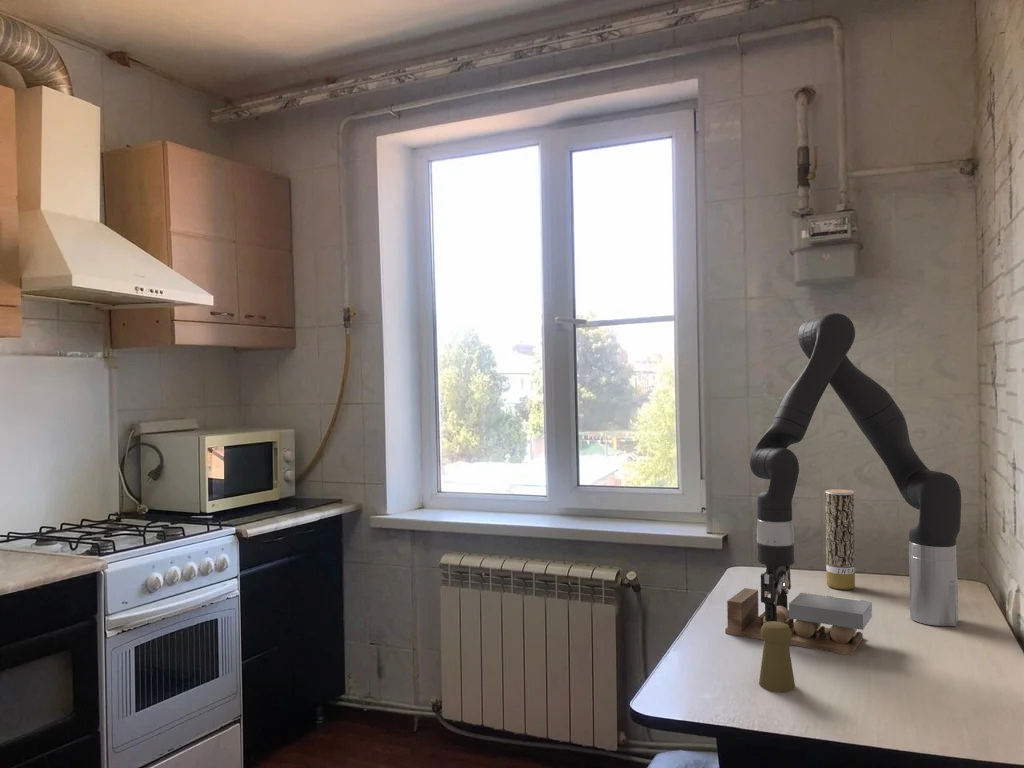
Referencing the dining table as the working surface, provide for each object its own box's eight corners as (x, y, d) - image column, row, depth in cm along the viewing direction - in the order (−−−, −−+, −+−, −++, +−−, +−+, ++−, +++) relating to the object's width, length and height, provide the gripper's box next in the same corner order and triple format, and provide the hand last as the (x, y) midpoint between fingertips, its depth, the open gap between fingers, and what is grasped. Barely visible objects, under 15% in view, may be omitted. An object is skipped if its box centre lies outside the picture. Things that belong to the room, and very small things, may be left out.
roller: (789, 626, 164) (791, 608, 164) (781, 634, 159) (783, 615, 159) (770, 621, 166) (772, 603, 166) (762, 629, 161) (764, 611, 161)
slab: (872, 616, 157) (871, 602, 157) (863, 629, 148) (862, 614, 148) (801, 606, 164) (801, 592, 164) (789, 618, 156) (788, 603, 156)
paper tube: (820, 585, 200) (819, 490, 200) (839, 582, 203) (838, 488, 203) (842, 591, 194) (840, 493, 194) (861, 588, 197) (859, 491, 197)
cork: (766, 676, 138) (765, 615, 138) (800, 684, 135) (799, 622, 135) (753, 686, 134) (752, 624, 134) (788, 695, 130) (787, 630, 130)
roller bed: (864, 638, 158) (863, 604, 158) (853, 655, 148) (852, 619, 148) (743, 618, 173) (742, 587, 173) (725, 633, 163) (725, 600, 163)
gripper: (784, 548, 155) (785, 628, 155) (801, 536, 166) (803, 611, 166) (747, 545, 159) (748, 622, 159) (766, 533, 171) (768, 605, 171)
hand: (776, 616), depth 163 cm, fingers open, 8 cm apart
